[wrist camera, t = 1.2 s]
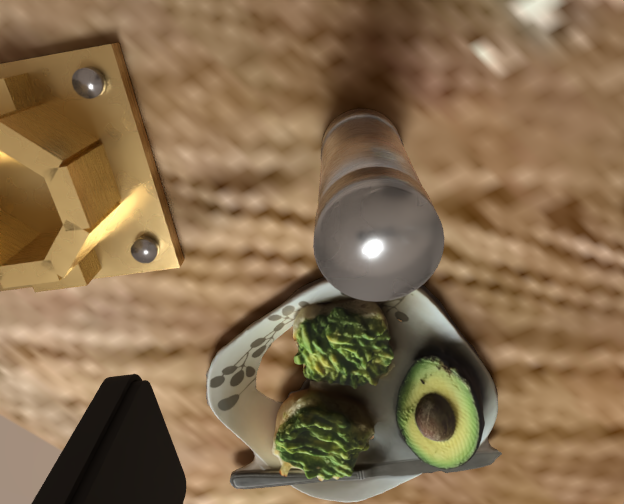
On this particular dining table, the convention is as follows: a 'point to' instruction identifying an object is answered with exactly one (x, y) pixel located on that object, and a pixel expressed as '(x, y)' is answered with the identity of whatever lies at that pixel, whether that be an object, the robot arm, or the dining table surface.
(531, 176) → the dining table surface
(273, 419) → the avocado toast plate
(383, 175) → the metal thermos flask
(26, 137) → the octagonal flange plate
